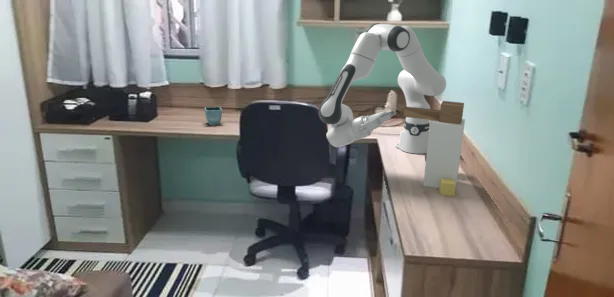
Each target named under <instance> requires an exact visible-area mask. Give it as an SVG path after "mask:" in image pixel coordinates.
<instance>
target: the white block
mask: <svg viewBox="0 0 614 297" xmlns="http://www.w3.org/2000/svg"><path fill="white" fill-rule="evenodd" d="M429 123H430V127H429V137H428V147H427V156H426V162H425V165H424V166H425V168H424V177H423V187H428V188H435V189H439V187H440V179H454V181H455V183H456V184H457V183H458V178H459V176H458V175H459V169H460V163H461V162H460V161H461V153H462V146H463V145H462V144H463V139H464V131H465V125H466V124H465V123H466V119H464V118H462V122H461V124H453V123H445V122H439V121H436V120H430V121H429Z"/></svg>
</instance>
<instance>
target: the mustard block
mask: <svg viewBox="0 0 614 297" xmlns="http://www.w3.org/2000/svg"><path fill="white" fill-rule="evenodd" d="M456 186H457V183H455V181H454V179H440V187H439V188H438V191H439V193H440V194H439V195H440V196H445V197H447V196H448V197H449V196H450V197H455V195H456Z"/></svg>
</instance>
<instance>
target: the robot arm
mask: <svg viewBox="0 0 614 297" xmlns="http://www.w3.org/2000/svg"><path fill="white" fill-rule="evenodd" d="M380 51H390V52H391V51H392V52H395V53H396V56H397V58H398V60H399V63H400V65H401V67H402V70H401V71H400V72H399V74H398V76H397V84H398V86H399V88H400V89H401V90H402V92H403V95H404V98H405V103H406V104H405V105H406V107H415V108H424V109H431V106H430V104H429V103H428V102H427V100H426V98H425V96H430V97H436V96H437V97H439V96H441V95H442V94H443V93H444V92H445V90H446V88H447V80H446V78H445V76H444V75H442V74H441V73H439V72H438V71H437V70H436V69H435V68H434V67H433V66H432V64H431V63H430V62H429V60H428V59H427V57H426V56H425V53H424V51H423V49H422V46H421V43H420V41H419V38H418V37H417V35H416V33H415V32H414V29H412V27H411V26H409V25H396V24H395V25H394V24H391V23H379V22H378V23H372V24H370V25H368V26H367V28H366V29H365V31H364V32H362V33H361V34H359V36H358V38H357V40H356V42H355V44H354V45H353V47H352V49H351V52H350V55H349V57H348V59H347V61H346V62H345V65H344V66H343V67H342V68H341V70H340V72H339V73H338V75H337V77H336V79H335V81H334V83H333V85H332V87H331V88H330V91H329V93H328V94H327V96H326V97H325V99H323V101H322V102H321V104H320V105H319V106H318V107H319V108H318V117H319V120H320V121H321V122H322V123H324V124H327V125H329V127H328V130H327V132H326V139H327V141H328V143H329V144H330V145H331V146H332V147H335V148H342V147H344V146H347V145H350V144H353V142H355V141H359V140H362V139H365V138H367V137H369V136H372V132H373V131H374V130H376V129H378V128H380V126H382V125H383V124H384V123H386V122H387V121H389V120H391V119H392V117H393V116H395V115H396V113H397V112H396V110H395V109H393V110H391V111H388V112H387V111H386V110H385V111H381V112H376V113H374V114H370V115H360V116H359V117H356V118H354V113H353V109H352V108H350V106H348V105H346V104H345V103H344V104H343V101H344V98H345V97H346V95H347V93H348V91H349V88H350V87H351V85H352V84H353V83H355V82H356V81H358V80H363V79H365V78H367V77H368V76H369V75H370V74H371V73H372V70H373V68H374V66H375V63H376V61H377V58H378V55H379V52H380ZM403 125H404V127H403V129H402V131H400V134H399V142H398V143H397V144H395V148H396V149H399V150H401V151H402V152H406V153H408V154H409V153H411V154H416V155H417V154H422V155H423V154H426V152H427V147H428V137H429V128H430V120H427V119H419V118H410V117H405V120H404V123H403Z"/></svg>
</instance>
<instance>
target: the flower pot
mask: <svg viewBox="0 0 614 297" xmlns="http://www.w3.org/2000/svg"><path fill="white" fill-rule="evenodd" d="M222 112H223V109H222V107H221V106H211V107H210V106H209V107H208V106H206V107H204V114H205V118H206V121H207V123H208V124H209V126H218V125H220V123H221V120H222V114H223V113H222Z"/></svg>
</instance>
